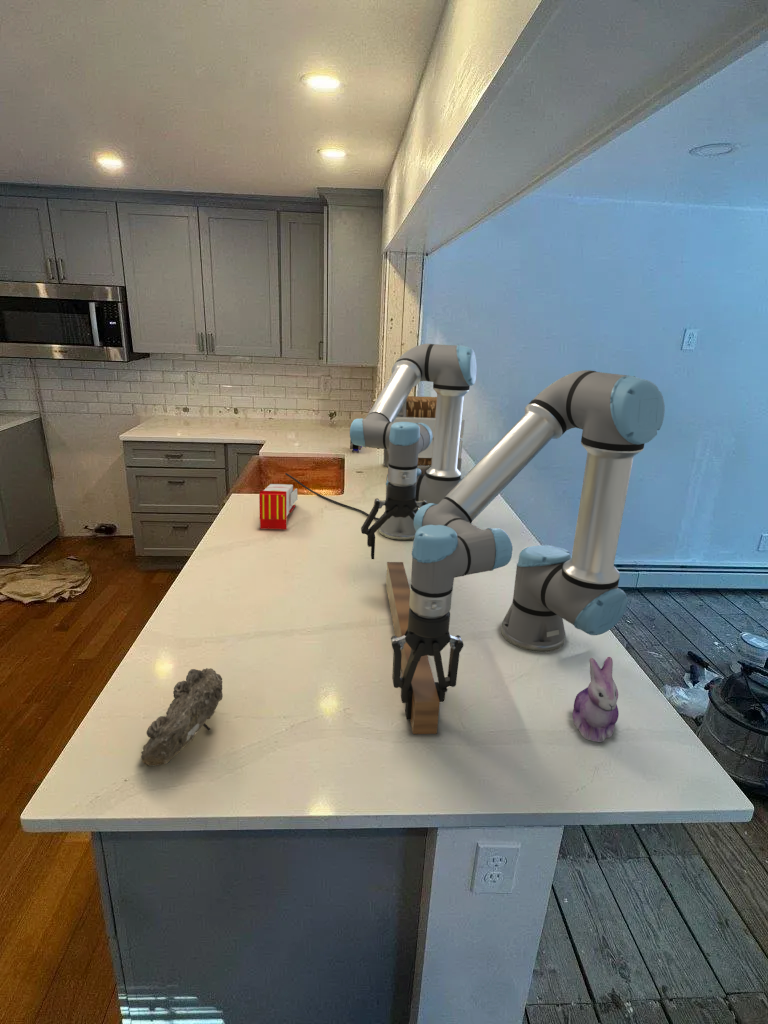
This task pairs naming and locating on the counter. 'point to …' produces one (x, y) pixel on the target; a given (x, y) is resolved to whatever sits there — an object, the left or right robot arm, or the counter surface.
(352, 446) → the figurine character
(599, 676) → the figurine
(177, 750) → the fossil
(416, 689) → the post
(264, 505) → the toy
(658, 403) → the right robot arm
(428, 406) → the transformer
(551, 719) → the counter surface
